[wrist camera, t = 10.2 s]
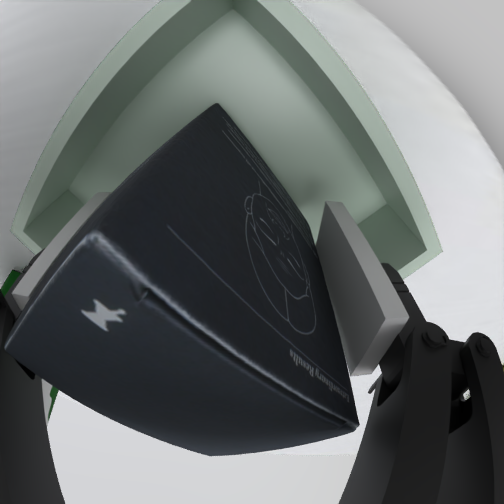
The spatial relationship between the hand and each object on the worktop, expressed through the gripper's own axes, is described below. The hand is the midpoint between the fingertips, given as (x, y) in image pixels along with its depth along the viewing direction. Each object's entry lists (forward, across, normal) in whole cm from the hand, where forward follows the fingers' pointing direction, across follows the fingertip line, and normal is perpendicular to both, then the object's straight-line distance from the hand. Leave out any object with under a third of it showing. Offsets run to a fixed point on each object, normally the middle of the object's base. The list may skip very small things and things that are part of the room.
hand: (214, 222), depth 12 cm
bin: (+4, 0, 0) cm, 4 cm away
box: (+2, 0, 0) cm, 2 cm away
